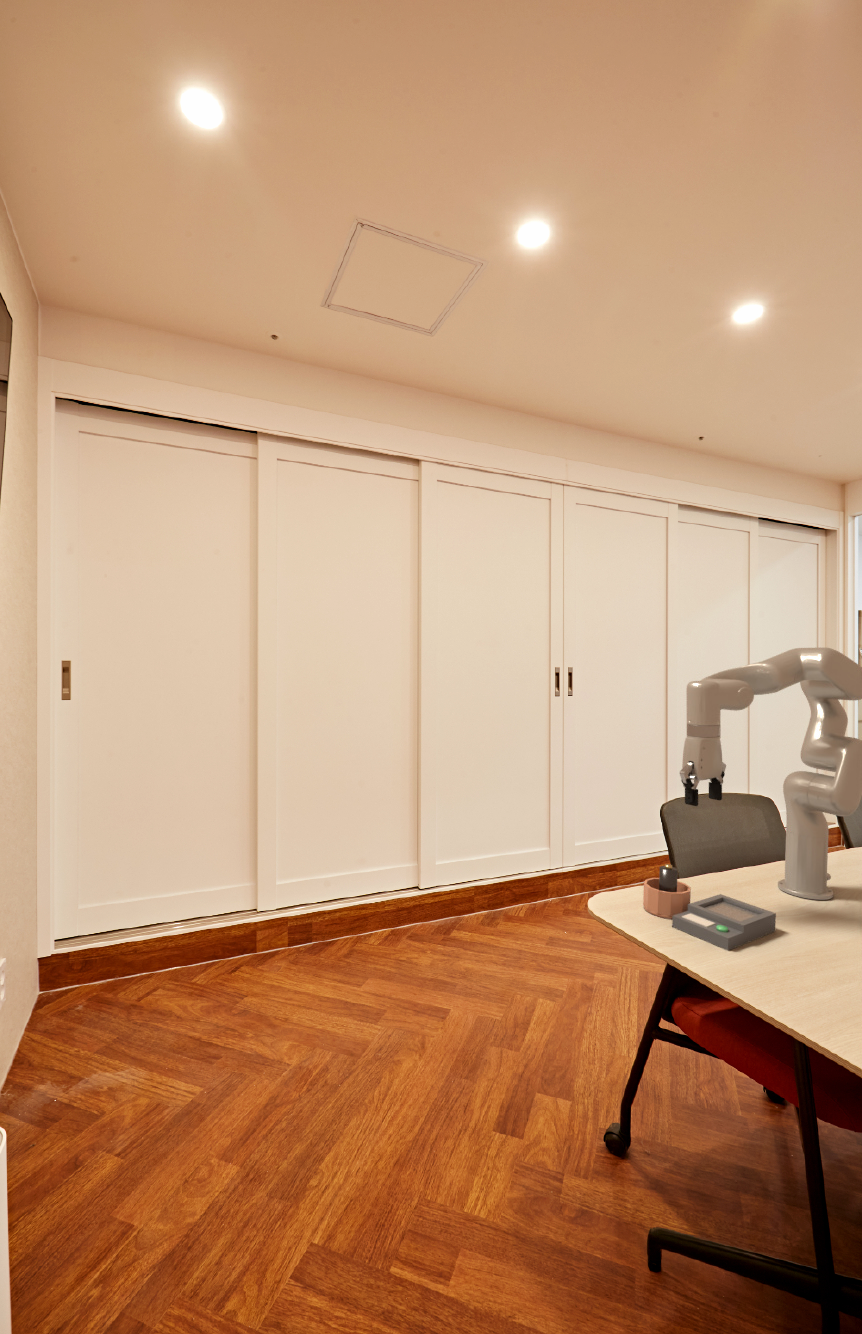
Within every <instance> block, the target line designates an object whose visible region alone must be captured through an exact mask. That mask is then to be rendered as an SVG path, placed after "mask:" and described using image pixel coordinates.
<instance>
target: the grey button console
mask: <svg viewBox="0 0 862 1334" xmlns="http://www.w3.org/2000/svg"><path fill="white" fill-rule="evenodd" d="M721 902H726V903H729V904H731V905H734V906H737V907H740V908H743V909H746V910H748V911H751V912H754V913H757V914H759V915H757V916H754V917H751V918H749V919H746V920H743V921H738V920H735V919H733V918H730V917H727V916H725V915H722V914H719V913H717V912H714V911H711V910H709V909H706V908H705V907H708V906H711V905H714V904H718V903H721ZM776 917H777V913H776V912H773V911H771V910H767V909H764V908H762V907H759V906H756V905H753V904H750V903H748V902H744V901H742V900H738V899H737V898H732V897H730V896H727V895H724V894H721V893H720V894H717V895H713V896H709V897H707V898H704V899H701V900H698V901H694V902H692V903H691V902H690V904H688V911H686V912H683V913H680V914H676V915H673V919H671V920H672V921H671V922H672V923H671V925H672V926H671V927H672V928H674V929H676V930H677V931H681V932H684V933H685V934H688V935H690V936H692V937H696V938H698V939H700V940H702V941H704V942H706V943H707V942H708V943H709V944H712V945H714V946H716V947H718V948H721V949H724V950H725V951H731V950H733V949H735V948H738V947H740V946H742V945H745V944H748V943H750V942H753V941H755V940H757V939H760V938H763V937H765V936H768V935H770V934H772V933H775V932H776V921H777V920H776Z"/></svg>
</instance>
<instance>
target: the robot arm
mask: <svg viewBox="0 0 862 1334" xmlns="http://www.w3.org/2000/svg"><path fill="white" fill-rule="evenodd" d="M798 683H799V685H800V689H801V691H802V693H803V695H804V696H805V698H806V700H807V703H808V704H809V708H810V718H809V722H808V725H807V729H806V732H805V736H804V739H803V743H802V746H801V750H800V760H801V762H802V763H803V764H804V765H805V766H807V767H810V768H813V769H816V770H821V771H826V772H827V771H828V772H834V773H835V774H834V776H833V775H827V774H823V773H817V772H813V771H807V770H805V771H804V770H797V771H794V772H791V773H789V774H788V775H787V776H786V777H785V779H784V781H783V785H782V788H783V789H782V790H783V797H784V803H785V804H784V805H785V808H786V810H785V813H786V825H785V826H786V829H785V855H784V859H785V861H784V879H780V880H778V882H777V888H779V889H780V890H781V891H783V892H784V893H787V894H789V895H792V896H795V897H799V898H801V899H802V898H803V899H809V900H817V901H819V900H820V901H821V900H824V901H827V900H830V899H833V897H834V891H833V890H832V889H831V888H829V887H828V886H827V885H828V884H827V883H828V881H829V880H831V879H832V876H831V874H830V873H828V861H829V860H828V857H829V855H828V854H829V833H830V832H829V824H828V822H827V821H828V820H827V818H826V817H825V814H829V815H833V816H837V817H848V816H851V815H852V814H854V813H855V812H856V811H857V810H858V808H859V805H860V802H861V800H862V740H861V739H860V738H858V737H852V736H845V735H846V732H847V728H848V723H849V719H848V715H847V712H846V710H845V709H844V706H843V705H842V704H841V702H840V700H841V701H859V700H862V666H861V665H860V664H858V663H857V662H856V661H854V660H852V659H851V658H850V657H848V656H846V655H845V654H844V653H842V652H840V651H838V650H836V649H834V648H830V647H797V648H792V649H788V650H786V651H783V652H781V653H779V654H777V655H775V656H771V657H770V658H766V659H765V660H762V661H759V662H755V663H749V664H746V665H742V666H738V667H734V668H729V669H726V670H721V671H718V672H716V673H713V674H711V675H708V676H705V677H704V678H702V679H701V680H693V681H692V680H691V681H689V682H688V683H687V684H686V737H685V739H684V744H683V751H682V753H683V754H682V768H681V770H679V776H680V781H681V783H682V787H683V788H684V804H685V805H688V806H693V807H698V806H699V788H698V785H699V783H700V781H706V780H707V781H708V780H709V782H708V798H709V799H712V800H716V801H722V800H723V783H724V777H725V771H726V769H727V765H726V763H725V762H724V761H723V753H722V744H721V743H722V742H721V741H722V740H721V729H722V728H721V710H724V711H734V712H735V711H736V712H737V711H741V710H743V711H744V710H745V709H747V708H749V707H750V706H751V705H752V703H753V701H754V698H755V696H760V695H769V694H774V693H775V694H776V693H778V692H781V691H783V690H785V689H787V688H789V687H791V686H793V685H796V684H798ZM697 788H698V789H697ZM824 813H825V814H824Z"/></svg>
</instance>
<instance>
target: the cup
mask: <svg viewBox="0 0 862 1334" xmlns="http://www.w3.org/2000/svg"><path fill="white" fill-rule="evenodd" d="M691 891H692V888H691V887H690V886H689V885H688V884H687V883H684V882H682V881H679V880H677V892H666V891H660V890H659V877H650V878H647V879H645V880H644V883H643V898H642V899H643V901H642V904H643V909H644V911H645V912H647V913H649V914H650V915H652V916H655V917H657V918H662V919H666V920H672V919H673V915H676V914H680V913H683V912H686V911H688V904H690V903H691V897H692V896H691V895H692V893H691Z"/></svg>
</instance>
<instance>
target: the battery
mask: <svg viewBox="0 0 862 1334" xmlns="http://www.w3.org/2000/svg"><path fill="white" fill-rule="evenodd" d="M658 874H659V875H658V876H659V877H658V878H659V890H660V891H666V892H677V881H678V875H679V874H678V868H677V867H674V866H673V864H668V863H665V864H664V865H661V866H659V872H658Z"/></svg>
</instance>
